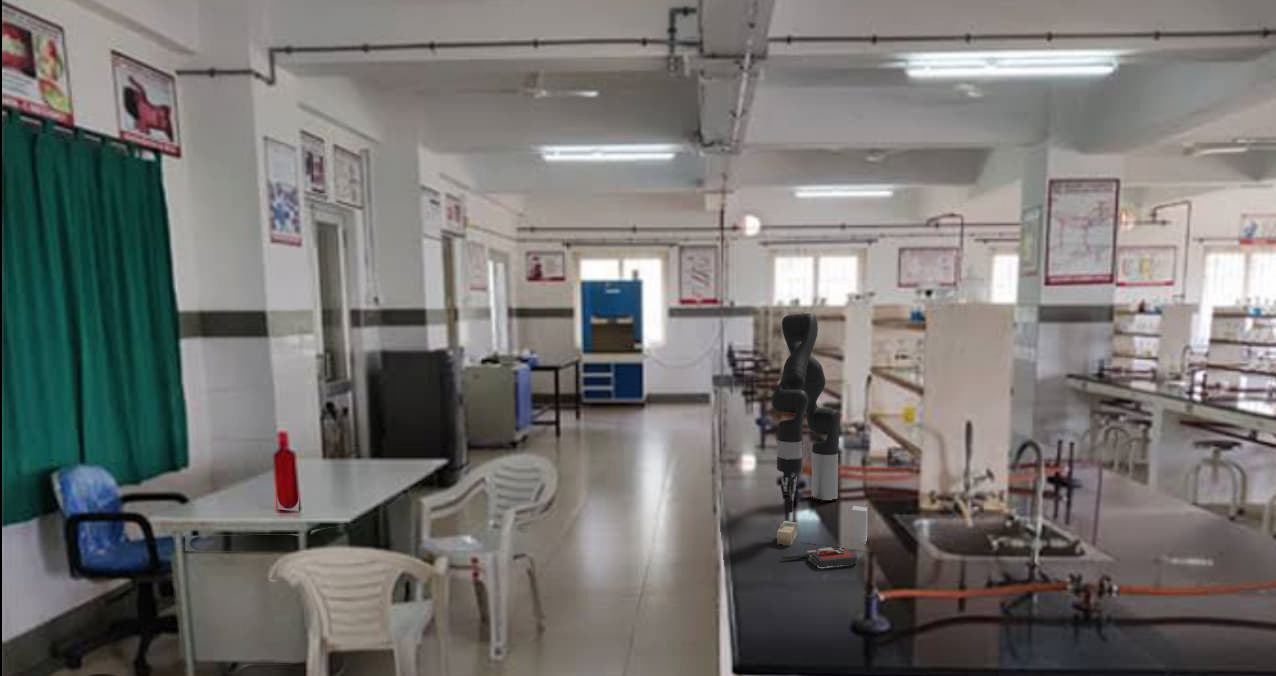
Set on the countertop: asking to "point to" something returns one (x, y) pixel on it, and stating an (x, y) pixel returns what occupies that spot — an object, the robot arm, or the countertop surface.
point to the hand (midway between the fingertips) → (788, 511)
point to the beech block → (787, 533)
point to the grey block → (859, 524)
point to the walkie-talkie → (827, 557)
